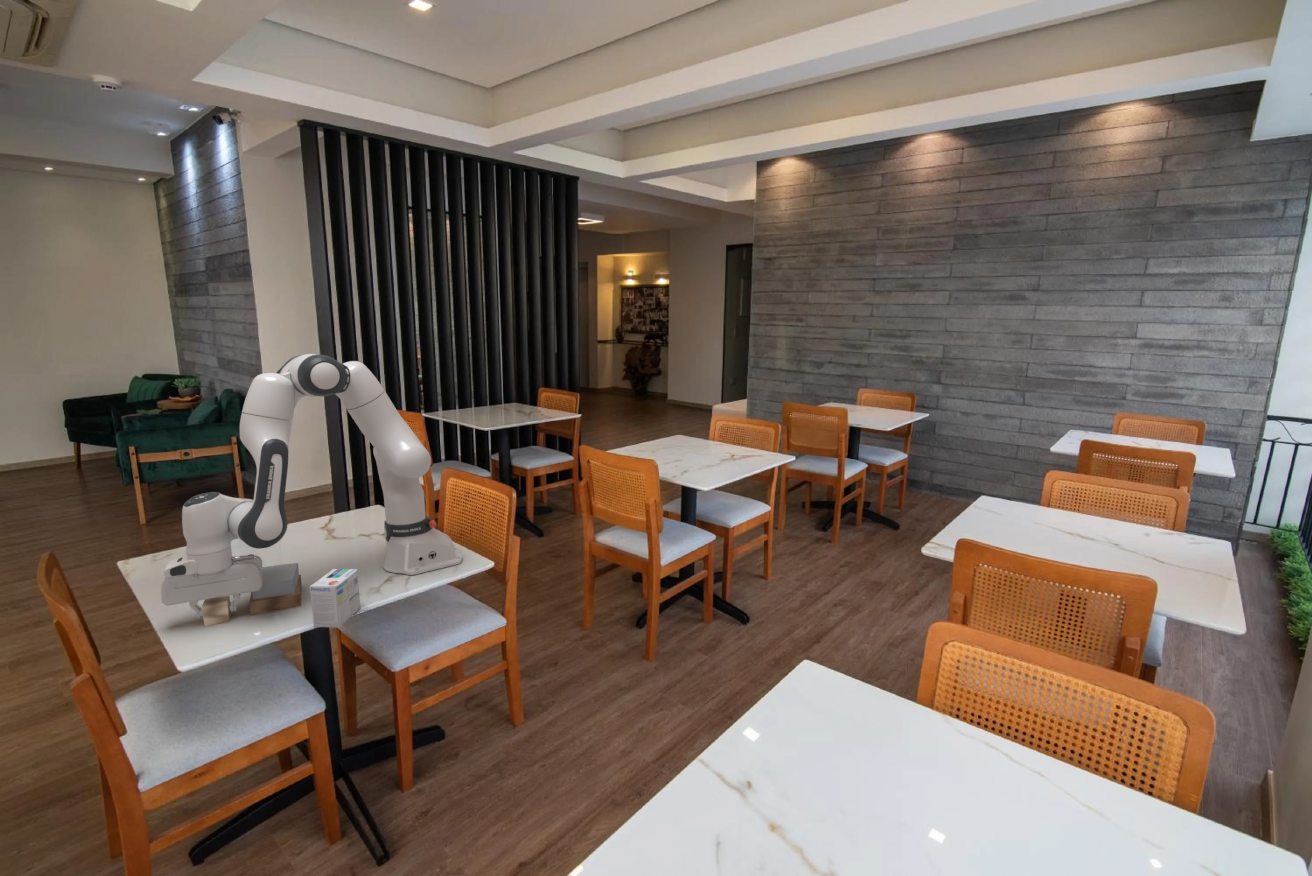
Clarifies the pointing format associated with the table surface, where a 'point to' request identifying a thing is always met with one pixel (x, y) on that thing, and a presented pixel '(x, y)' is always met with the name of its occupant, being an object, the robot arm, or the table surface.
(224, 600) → the birch cube
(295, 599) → the walnut base slab
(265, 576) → the slate grey block
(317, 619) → the light bulb box
